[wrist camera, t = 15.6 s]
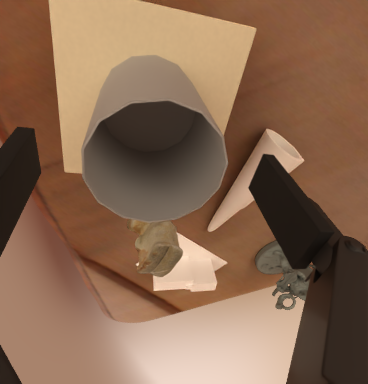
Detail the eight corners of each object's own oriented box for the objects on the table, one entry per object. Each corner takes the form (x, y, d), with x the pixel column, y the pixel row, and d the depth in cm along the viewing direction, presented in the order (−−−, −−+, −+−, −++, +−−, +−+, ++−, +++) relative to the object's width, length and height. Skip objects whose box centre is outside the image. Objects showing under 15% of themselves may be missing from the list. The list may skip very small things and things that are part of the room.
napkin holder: (134, 265, 49) (134, 293, 45) (176, 231, 45) (180, 258, 41) (189, 288, 57) (193, 314, 53) (228, 262, 53) (237, 287, 49)
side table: (70, -20, 23) (46, -21, 17) (227, 18, 27) (257, 28, 20) (78, 135, 32) (64, 172, 25) (195, 147, 35) (208, 183, 29)
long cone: (179, 210, 44) (259, 122, 34) (208, 218, 48) (289, 140, 37) (185, 238, 41) (278, 148, 30) (216, 245, 44) (309, 166, 33)
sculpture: (179, 174, 38) (200, 258, 26) (153, 206, 41) (161, 294, 29) (145, 155, 35) (150, 240, 23) (119, 192, 38) (113, 283, 26)
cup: (197, 52, 21) (234, 93, 13) (196, 144, 26) (223, 213, 18) (88, 58, 20) (58, 106, 12) (110, 153, 25) (99, 228, 17)
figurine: (273, 233, 49) (305, 291, 40) (315, 242, 53) (353, 296, 44) (245, 267, 55) (268, 324, 46) (285, 272, 59) (313, 326, 49)
